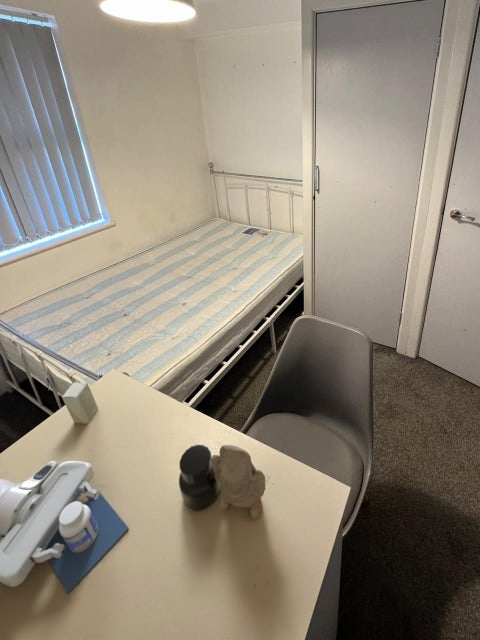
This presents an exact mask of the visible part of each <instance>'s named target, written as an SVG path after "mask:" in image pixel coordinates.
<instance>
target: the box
mask: <svg viewBox="0 0 480 640" xmlns="http://www.w3.org/2000/svg"><path fill="white" fill-rule="evenodd" d="M61 398H62V400H63V403H64V404H65V407H66V409H67V411H68V413H69V415H70V417H71V419H72V421H73V423H74V424H89V423H90V421H91V420H92V418H93V417H94V415H95V414H96V412H97V411H98V409H99V407H98V404H97V402H96V399H95V397H94V395H93V393H92V391H91V388H90V385H89V384H88V382H72V384H71V385H70V386H69V388H67V390H66V391H65V392H64V394H63V395H62V396H61Z"/></svg>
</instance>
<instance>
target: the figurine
mask: <svg viewBox="0 0 480 640" xmlns="http://www.w3.org/2000/svg"><path fill="white" fill-rule="evenodd" d="M211 457H212V462H213V472H214V473H215V479H216V480H217V481H219V482H221V483H220V489H221V490H220V497H219V501H218V505H219V509H220V510H223V511H227V510H228V509H229V508H230V506H234V507H237V508H245V509H246V508H249V515H250V517H251V518H252V519H254V520H259V518H260V517H261V516H262V511H263V503H262V497H263V496H264V494H265V491H266V476H265V474H264V472H263V471H262V470H260V469H257V468H256V467H255V465H254V464H253V462H252V457H251V455H250V454H249V452H247V451H246V450H245V449H243V448H242V447H239V446H236V445H233V444H223V445H221V446H220V448H219V453H218V454H213V455H211Z"/></svg>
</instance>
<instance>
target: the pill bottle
mask: <svg viewBox="0 0 480 640" xmlns="http://www.w3.org/2000/svg"><path fill="white" fill-rule="evenodd" d="M59 522H60V525H59V531H60V534H61V536H62V537H63V539H64V540H65V542H66V544H67V545H68V547H69V548H70V550H71V551H73V552H81V551H83V550H85V549H87V548H88V547H89V546H90V545H91V544H92V543H93V541H94V540H95V538H96V536H97V534H98V524H97V522H96V520H95V518H94V516H93V514H92V512H91V510H90V508H89V507H88V506H87V505H84V503H82V502H81V501H78V500H77V501H76V502H72V503H70V504H69V505H67V506H66V507H65V508H64V509H63V511H62V512H61V514H60V517H59Z"/></svg>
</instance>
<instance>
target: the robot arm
mask: <svg viewBox="0 0 480 640" xmlns="http://www.w3.org/2000/svg"><path fill="white" fill-rule="evenodd" d="M94 476H95V469H94V467H93V465H92V464H91V463H90V462H88V461H81V460H67V461H63V462H62V463H60V464H59V463H58V462H57V461H56V460H50V461H49V462H47V463H46V464H45V465H43V466H42V467H41V468H40V469H39V470H38V471H36V472H35V473H34V474H33V475H31V476H30V477H29V478H28V479H26V480H25V481H23V482H17V483H15V482H13V481H11V480H9V479H5V478H0V583H1V584H3V585H5V586H8V587H11V588H14V587H17V586H19V585H20V584H22V583H23V582H24V581H25V579H26V578H27V576H28V575H29V573H30V572H31V571H32V569H33V568H34V566H35V564H36V563H38V564H41V563H43V562H46V561H49V560H48V559H50V558H52V557H56V558H60V557H61V555H62V554H63V552H64V551H65V549H66V547H65V546H64V545H63V544H59V543H55V545H54V546H53V548H51V549H48V550H45V548H46V547H47V545H48V544H49V542H50V541H51V539H52V538H53V536H54V535H55V533H56V532H57V530H58V529H59V525H60V522H59V517H60V514H61V512H62V511H63V509H64V508H65V507H66V506H67V505H69V504H70V503H72V502H76V501H78V500H79V499H80V498H81V496H82V495H83V494H84V495H85V494H86V496H85V497H86V499H87V501H93V502H95V501H96V499H97V498H98V496H99V495H100V493H101V492H100V490H98V489H95V488H92V487H91V484H90V483H91V481H92V480H93V478H94ZM99 492H100V493H99ZM44 550H45V551H44Z"/></svg>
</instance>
